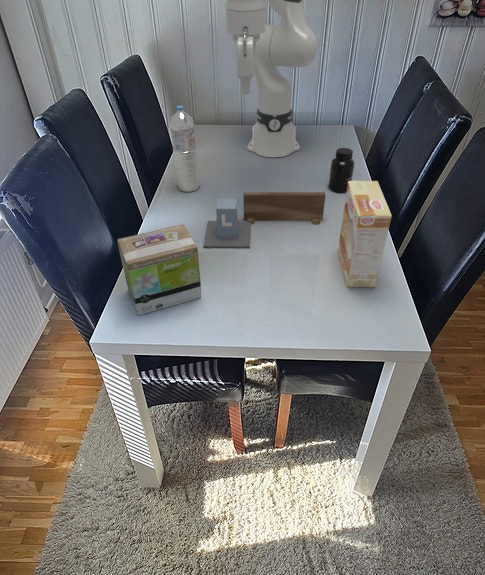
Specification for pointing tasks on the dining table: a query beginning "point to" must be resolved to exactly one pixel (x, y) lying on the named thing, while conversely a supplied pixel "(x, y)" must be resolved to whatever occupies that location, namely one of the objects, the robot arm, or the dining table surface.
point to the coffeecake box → (363, 233)
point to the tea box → (161, 268)
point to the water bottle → (184, 150)
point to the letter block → (227, 218)
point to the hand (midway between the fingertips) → (246, 86)
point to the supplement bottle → (341, 170)
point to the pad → (216, 242)
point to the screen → (284, 206)
